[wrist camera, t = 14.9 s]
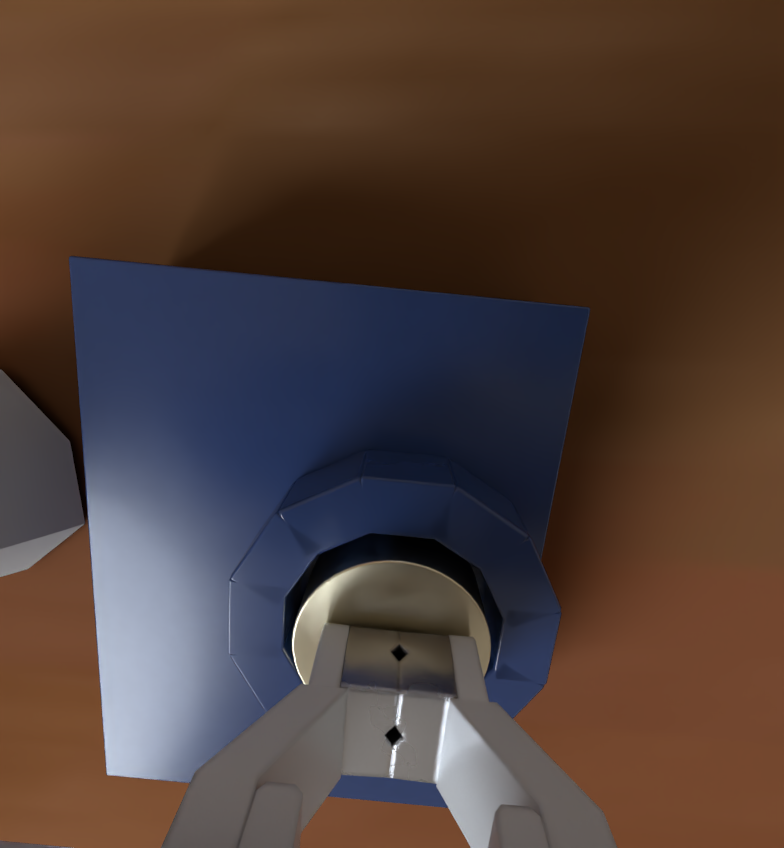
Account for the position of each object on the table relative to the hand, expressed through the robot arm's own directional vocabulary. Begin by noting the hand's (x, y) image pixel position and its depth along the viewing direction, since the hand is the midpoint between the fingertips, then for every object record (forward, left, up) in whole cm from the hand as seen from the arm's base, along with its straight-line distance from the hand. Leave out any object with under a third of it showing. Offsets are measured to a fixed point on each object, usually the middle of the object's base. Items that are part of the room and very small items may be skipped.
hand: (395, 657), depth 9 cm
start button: (0, 0, -2) cm, 2 cm away
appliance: (0, -2, -7) cm, 7 cm away
